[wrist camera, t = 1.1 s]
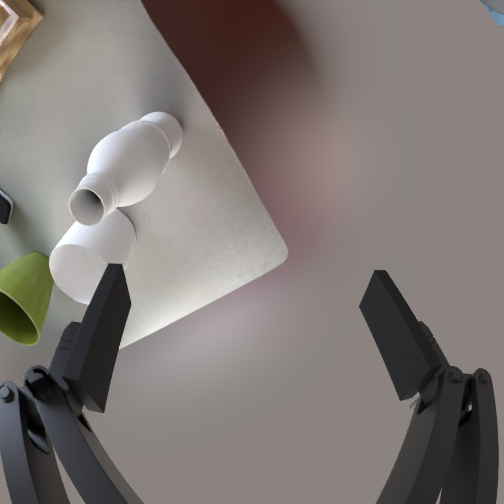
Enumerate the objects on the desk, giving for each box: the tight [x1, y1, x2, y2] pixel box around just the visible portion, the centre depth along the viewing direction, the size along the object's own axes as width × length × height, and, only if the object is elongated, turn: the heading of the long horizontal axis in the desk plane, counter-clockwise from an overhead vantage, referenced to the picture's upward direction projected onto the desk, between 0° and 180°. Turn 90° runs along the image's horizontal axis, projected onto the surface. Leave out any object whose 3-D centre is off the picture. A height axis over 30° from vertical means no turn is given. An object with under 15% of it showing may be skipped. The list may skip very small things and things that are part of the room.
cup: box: [49, 209, 136, 305], centre depth 40 cm, size 12×12×12 cm
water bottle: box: [69, 112, 183, 227], centre depth 27 cm, size 7×7×25 cm
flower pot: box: [0, 252, 54, 345], centre depth 41 cm, size 15×15×16 cm
